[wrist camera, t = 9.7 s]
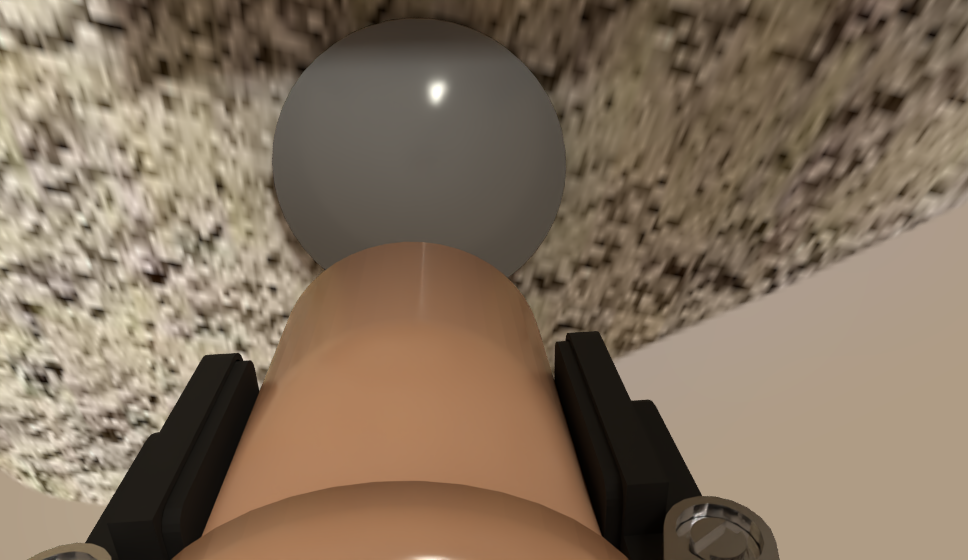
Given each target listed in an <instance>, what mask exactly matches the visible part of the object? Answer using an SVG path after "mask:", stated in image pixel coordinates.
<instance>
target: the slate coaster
mask: <svg viewBox="0 0 968 560" xmlns="http://www.w3.org/2000/svg"><path fill="white" fill-rule="evenodd" d="M272 165H273V176H274V184H275V188H276V193H277V197H278V201H279V203H280V206H281V209H282V211H283V214H284V217H285V219H286V221H287V223H288V224H289V226H290V228H291V230H292V232H293V234H294V235H295V237H296V238H297V240H298V241H299V242H300V244H301V245H302V247H303V248H304V249H305V250H306V252H307V253H308V254H309V255H310V256H311V257H312V258H313V259H314V260H315V261H316V262H317V263H318V264H319V265H320V266H321V267H322V268H324V269H325V270H326V269H328V268H329V267H331V266H332V265H333V264H335V263H336V262H338V261H340V260H342V259H344V258H346V257H348V256H349V255H351V254H354V253H357V252H359V251H362V250H365V249H367V248H371V247H375V246H379V245H383V244H390V243H398V242H426V243H434V244H441V245H445V246H449V247H453V248H456V249H460V250H462V251H465V252H467V253H470V254H472V255H475V256H476V257H478V258H480V259H482V260H484V261H485V262H487V263H489V264H491V265H492V266H493V267H495V268H496V269H497V270H499V271H500V272H501V273H503V274H504V275H505V276H506V277H507V278H508V277H509V276H511V275H512V274H513V273H514V272H515V271H517V270H518V269H519V268H520V267H521V266H522V265H523V264H525V262H526V261H527V260H528V259H529V258H530V257H531V256H532V255H533V254H534V252H535V251H536V250H537V249H538V247H539V246H540V244H541V243H542V242H543V240H544V239H545V237H546V236H547V234H548V232H549V230H550V228H551V226H552V224H553V222H554V220H555V217H556V215H557V212H558V209H559V206H560V204H561V199H562V195H563V190H564V185H565V174H566V156H565V145H564V140H563V134H562V130H561V127H560V123H559V120H558V117H557V114H556V112H555V109H554V107H553V105H552V103H551V101H550V99H549V97H548V95H547V93H546V92H545V90H544V89H543V87H542V86H541V84H540V83H539V81H538V80H537V78H536V77H535V76H534V75H533V74H532V73H531V71H530V70H529V69H528V68H527V67H526V66H525V65H524V63H523V62H522V61H521V60H520V59H518V58H517V57H516V56H515V55H514V54H513V53H512V52H510V51H509V50H508V49H507V48H506V47H504V46H503V45H501V44H500V43H498V42H497V41H495V40H494V39H492V38H491V37H489V36H487V35H485V34H483V33H481V32H479V31H476V30H474V29H472V28H470V27H466V26H463V25H460V24H457V23H454V22H450V21H444V20H439V19H433V18H404V19H394V20H389V21H385V22H381V23H377V24H373V25H370V26H367V27H365V28H362V29H360V30H358V31H355V32H353V33H351V34H349V35H348V36H346V37H344V38H343V39H341V40H339V41H337V42H336V43H335V44H333V45H332V46H331V47H329V48H328V49H327V50H326V51H324V52H323V53H322V54H321V55H319V56H318V57H317V58H316V59H315V60H314V61H313V62H312V63H311V64H310V66H309V67H308V68H307V69H306V70H305V71H304V72H303V73H302V75H301V76H300V78H299V79H298V80H297V82H296V83H295V85H294V86H293V88H292V89H291V91H290V93H289V95H288V97H287V99H286V101H285V103H284V105H283V107H282V110H281V113H280V116H279V119H278V122H277V125H276V131H275V136H274V142H273V157H272Z"/></svg>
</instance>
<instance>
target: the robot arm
mask: <svg viewBox="0 0 968 560" xmlns="http://www.w3.org/2000/svg"><path fill="white" fill-rule="evenodd" d="M554 381H555V384H556V387H557V391H558V394H559V397H560V400H561V404H562V407H563V410H564V414H565V417H566V420H567V423H568V427H569V430H570V433H571V436H572V440H573V443H574V446H575V450H576V453H577V456H578V459H579V463H580V466H581V469H582V473H583V476H584V479H585V482H586V486H587V489H588V492H589V495H590V499H591V502H592V505H593V509H594V512H595V515H596V518H597V522H598V525H599V528H600V532H601V535H602V537H603V538H605V539H606V540H607V541H608V542H609V543H611V544H612V545H613V546H614V547H615V548H617V549H618V550H619V551H620V552H621V553H623V554H624V555H625V556H626V557H627V558H628V559H629V560H780V559H779V554H778V549H777V544H776V541H775V538H774V536H773V533H772V531H771V529H770V528H769V526H768V525H767V524H766V523H765V522H764V521H763V519H762V518H761V517H760V516H758V515H757V514H756V513H754V512H753V511H751V510H750V509H749V508H747V507H745V506H743V505H741V504H738V503H736V502H734V501H732V500H728V499H723V498H719V497H713V496H702V495H701V493H700V491H699V489H698V487H697V485H696V483H695V481H694V479H693V477H692V475H691V474H690V471H689V470H688V468H687V466H686V464H685V462H684V460H683V458H682V456H681V454H680V452H679V450H678V449H677V447H676V445H675V443H674V441H673V439H672V437H671V435H670V433H669V431H668V429H667V427H666V425H665V423H664V421H663V419H662V418H661V416H660V414H659V412H658V410H657V408H656V406H655V405H654V403H653V402H652V401H650V400H638V401H631V399H630V397H629V395H628V393H627V391H626V389H625V387H624V385H623V382H622V380H621V378H620V376H619V374H618V372H617V370H616V367H615V365H614V363H613V361H612V359H611V357H610V355H609V352H608V350H607V348H606V346H605V344H604V342H603V340H602V337H601V335H600V333H599V332H598V331H593V332H576V333H567V335H566V341H559V342H556V344H555V377H554ZM258 394H259V387H258V382H257V377H256V372H255V368H254V364H253V362H252V361H243V358H242V356H241V355H240V354H239V353H232V354H215V355H205V356H204V357H203V358H202V360H201V362H200V363H199V365H198V367H197V368H196V370H195V372H194V374H193V375H192V377H191V379H190V381H189V382H188V384H187V386H186V387H185V389H184V391H183V393H182V394H181V396H180V398H179V400H178V401H177V403H176V405H175V406H174V408H173V410H172V412H171V413H170V415H169V417H168V419H167V420H166V422H165V424H164V425H163V427H162V429H161V431H160V432H158V433H154V434H152V435H150V437H149V438H148V439H147V440H146V442H145V443H144V445H143V447H142V448H141V450H140V452H139V453H138V455H137V457H136V458H135V460H134V462H133V463H132V465H131V467H130V468H129V470H128V472H127V473H126V475H125V477H124V479H123V480H122V482H121V484H120V485H119V487H118V489H117V490H116V492H115V494H114V495H113V497H112V499H111V500H110V502H109V504H108V505H107V507H106V509H105V510H104V512H103V514H102V515H101V517H100V519H99V520H98V522H97V524H96V526H95V527H94V529H93V530H92V532H91V534H90V535H89V537H88V539H87V541H86V542H85V543H73V544H67V545H61V546H58V547H55V548H52V549H49V550H46V551H43V552H41V553H39V554H37V555H35V556H33V557H31V558H29V559H28V560H171V559H172V558H174V557H175V556H176V555H177V554H178V553H179V552H180V551H182V550H183V549H184V548H185V547H187V546H188V545H190V544H191V543H193V542H194V541H196V540H198V539H199V538H201V537H202V534H203V532H204V529H205V527H206V524H207V522H208V519H209V517H210V514H211V512H212V509H213V507H214V504H215V502H216V499H217V497H218V494H219V492H220V489H221V487H222V484H223V482H224V479H225V477H226V474H227V472H228V469H229V467H230V464H231V462H232V459H233V457H234V454H235V452H236V449H237V447H238V444H239V442H240V439H241V437H242V434H243V432H244V429H245V427H246V424H247V422H248V419H249V417H250V414H251V412H252V409H253V407H254V404H255V401H256V399H257V396H258Z"/></svg>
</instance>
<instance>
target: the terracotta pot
mask: <svg viewBox="0 0 968 560" xmlns="http://www.w3.org/2000/svg"><path fill="white" fill-rule="evenodd" d="M171 560H629V559H628V558H627V557H626V556H625V555H624V554H623V553H621V552H620V551H619V550H618V549H617V548H615V547H614V546H613V545H612V544H611V543H609V542H608V541H607V540H606V539H605V538H603V537H602V535H601V532H600V528H599V525H598V522H597V518H596V515H595V512H594V509H593V505H592V502H591V499H590V495H589V492H588V489H587V486H586V482H585V479H584V476H583V473H582V469H581V466H580V463H579V459H578V456H577V453H576V450H575V446H574V443H573V440H572V436H571V433H570V430H569V427H568V423H567V420H566V417H565V414H564V410H563V407H562V404H561V400H560V397H559V394H558V391H557V387H556V384H555V381H554V377H553V374H552V371H551V368H550V364H549V361H548V358H547V355H546V351H545V348H544V345H543V341H542V338H541V335H540V332H539V328H538V325H537V322H536V320H535V317H534V315H533V312H532V310H531V308H530V306H529V305H528V303H527V301H526V299H525V298H524V296H523V295H522V294H521V292H520V291H519V290H518V289H517V287H516V286H515V285H514V284H513V283H512V282H511V281H510V280H509V279H508V278H507V277H506V276H505V275H504V274H503V273H501V272H500V271H499V270H497V269H496V268H495V267H493V266H492V265H491V264H489V263H487V262H485V261H484V260H482V259H480V258H478V257H476V256H475V255H472V254H470V253H467V252H465V251H462V250H460V249H456V248H453V247H449V246H445V245H441V244H434V243H426V242H398V243H390V244H383V245H379V246H375V247H371V248H367V249H365V250H362V251H359V252H357V253H354V254H351V255H349V256H348V257H346V258H344V259H342V260H340V261H338V262H336V263H335V264H333V265H332V266H331V267H329V268H328V269H326V270H325V271H324V272H322V273H321V274H320V275H319V276H318V277H317V278H316V279H315V280H314V281H313V282H312V283H311V284H310V285H309V286H308V287H307V288H306V290H305V291H304V292H303V293H302V295H301V296H300V297H299V299H298V301H297V302H296V304H295V306H294V308H293V309H292V311H291V314H290V316H289V319H288V321H287V324H286V326H285V329H284V331H283V334H282V336H281V339H280V341H279V344H278V346H277V349H276V351H275V354H274V356H273V359H272V361H271V364H270V366H269V369H268V371H267V374H266V376H265V379H264V381H263V384H262V386H261V389H260V391H259V394H258V396H257V399H256V401H255V404H254V407H253V409H252V412H251V414H250V417H249V419H248V422H247V424H246V427H245V429H244V432H243V434H242V437H241V439H240V442H239V444H238V447H237V449H236V452H235V454H234V457H233V459H232V462H231V464H230V467H229V469H228V472H227V474H226V477H225V479H224V482H223V484H222V487H221V489H220V492H219V494H218V497H217V499H216V502H215V504H214V507H213V509H212V512H211V514H210V517H209V519H208V522H207V524H206V527H205V529H204V532H203V534H202V537H201V538H199V539H198V540H196V541H194V542H193V543H191V544H190V545H188V546H187V547H185V548H184V549H183V550H182V551H180V552H179V553H178V554H177V555H176V556H175V557H174V558H172V559H171Z"/></svg>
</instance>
